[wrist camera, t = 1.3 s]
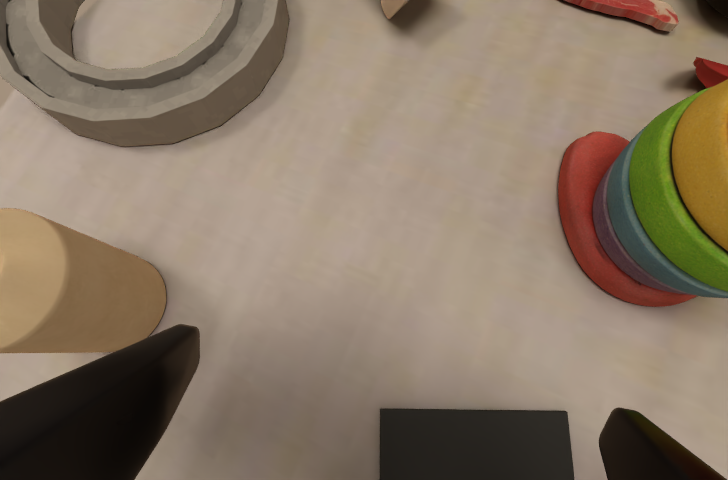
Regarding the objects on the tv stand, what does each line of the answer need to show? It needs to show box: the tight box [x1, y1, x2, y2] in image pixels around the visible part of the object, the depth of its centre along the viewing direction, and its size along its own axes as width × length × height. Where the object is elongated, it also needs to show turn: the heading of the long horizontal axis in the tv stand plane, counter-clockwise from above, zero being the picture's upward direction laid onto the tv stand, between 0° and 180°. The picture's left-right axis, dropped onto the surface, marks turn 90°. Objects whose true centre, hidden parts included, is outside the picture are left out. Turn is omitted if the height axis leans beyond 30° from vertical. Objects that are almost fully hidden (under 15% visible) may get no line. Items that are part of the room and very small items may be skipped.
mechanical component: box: [0, 0, 289, 147], centre depth 27 cm, size 18×18×3 cm
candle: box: [0, 208, 166, 353], centre depth 19 cm, size 6×6×10 cm
